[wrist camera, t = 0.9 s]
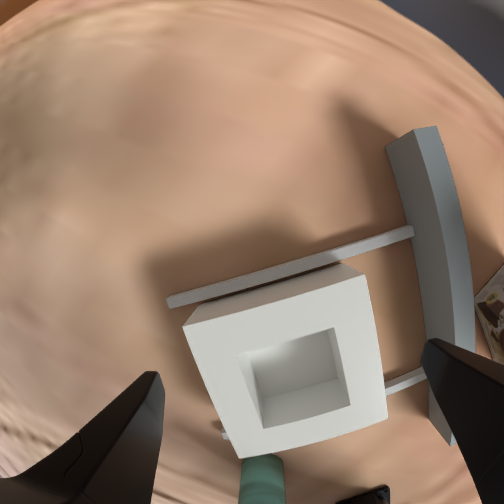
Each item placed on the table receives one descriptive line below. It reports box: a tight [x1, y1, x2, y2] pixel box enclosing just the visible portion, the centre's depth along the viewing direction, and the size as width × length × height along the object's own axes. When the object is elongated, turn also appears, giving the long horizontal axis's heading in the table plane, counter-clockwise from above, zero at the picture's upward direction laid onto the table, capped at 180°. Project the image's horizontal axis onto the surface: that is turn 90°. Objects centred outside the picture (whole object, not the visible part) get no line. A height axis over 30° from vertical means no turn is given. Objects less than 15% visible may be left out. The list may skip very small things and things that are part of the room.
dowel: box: [238, 453, 286, 504], centre depth 20 cm, size 4×4×8 cm
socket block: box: [182, 263, 388, 459], centre depth 20 cm, size 11×11×5 cm
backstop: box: [166, 126, 475, 447], centre depth 20 cm, size 26×21×5 cm
